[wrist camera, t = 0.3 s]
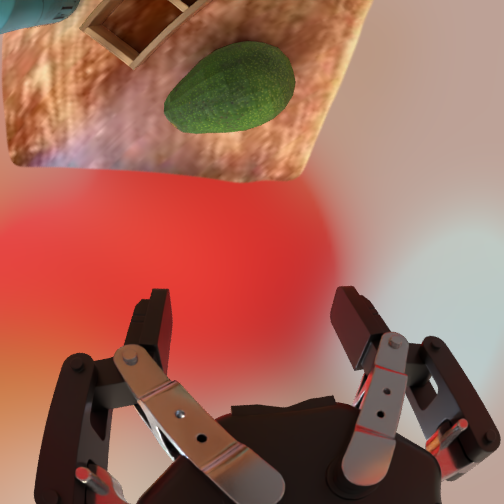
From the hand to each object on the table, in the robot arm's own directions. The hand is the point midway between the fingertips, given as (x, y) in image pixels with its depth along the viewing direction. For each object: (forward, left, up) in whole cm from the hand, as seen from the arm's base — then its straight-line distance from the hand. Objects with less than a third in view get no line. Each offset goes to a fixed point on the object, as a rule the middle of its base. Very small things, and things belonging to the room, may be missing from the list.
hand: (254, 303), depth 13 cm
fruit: (-2, +2, -30) cm, 30 cm away
